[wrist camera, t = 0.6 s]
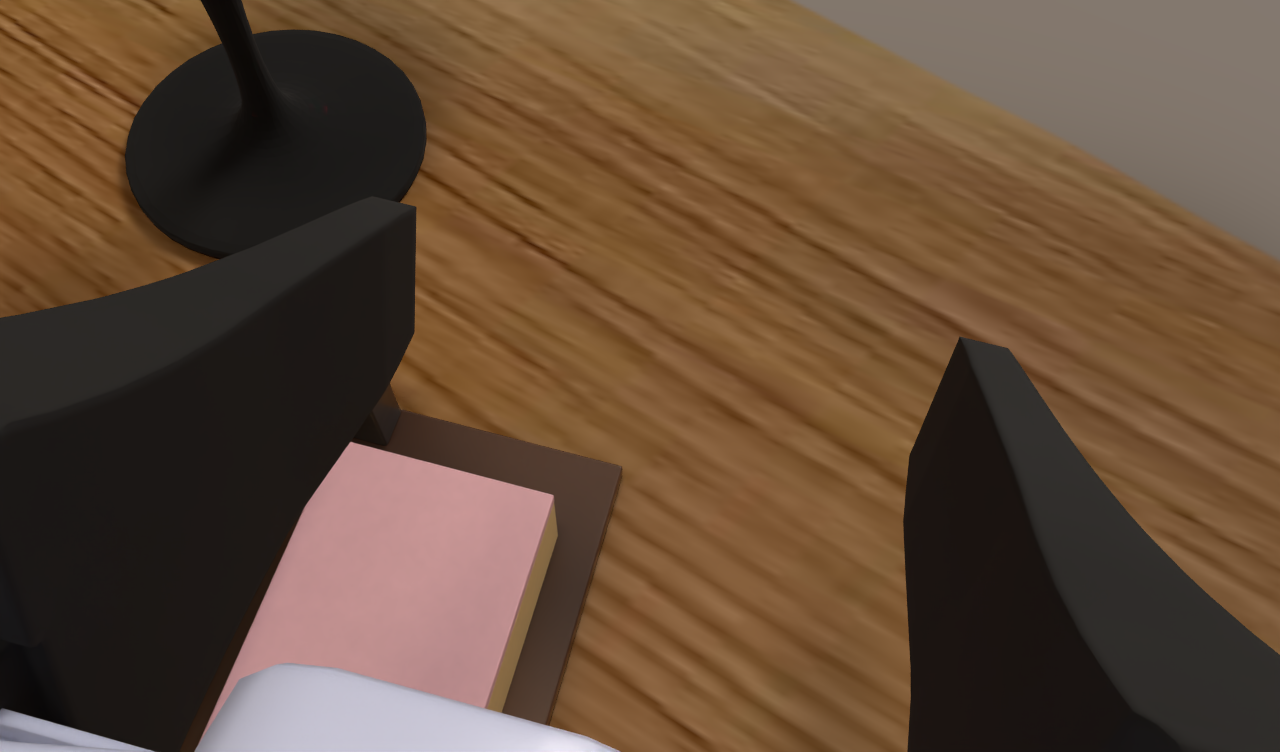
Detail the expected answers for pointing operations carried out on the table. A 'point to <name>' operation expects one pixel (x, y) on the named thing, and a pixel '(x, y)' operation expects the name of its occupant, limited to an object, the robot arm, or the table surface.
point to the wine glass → (271, 135)
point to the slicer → (568, 477)
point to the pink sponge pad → (407, 579)
